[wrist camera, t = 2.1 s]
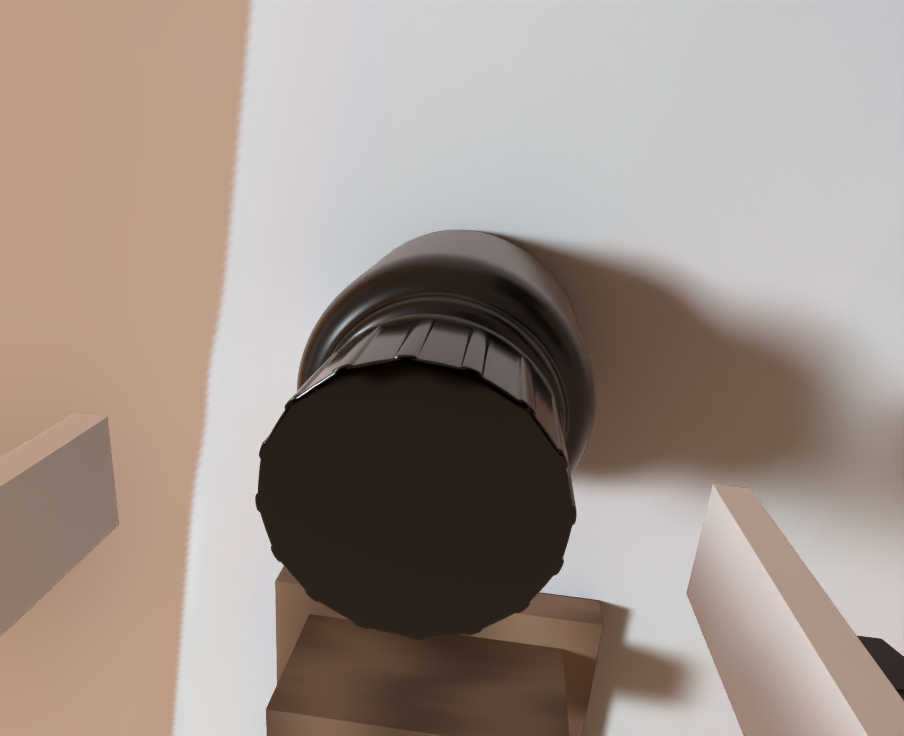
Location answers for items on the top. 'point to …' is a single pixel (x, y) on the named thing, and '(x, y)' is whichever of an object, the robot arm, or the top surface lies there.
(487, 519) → the ink bottle
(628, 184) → the top surface
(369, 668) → the cradle
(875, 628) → the top surface
